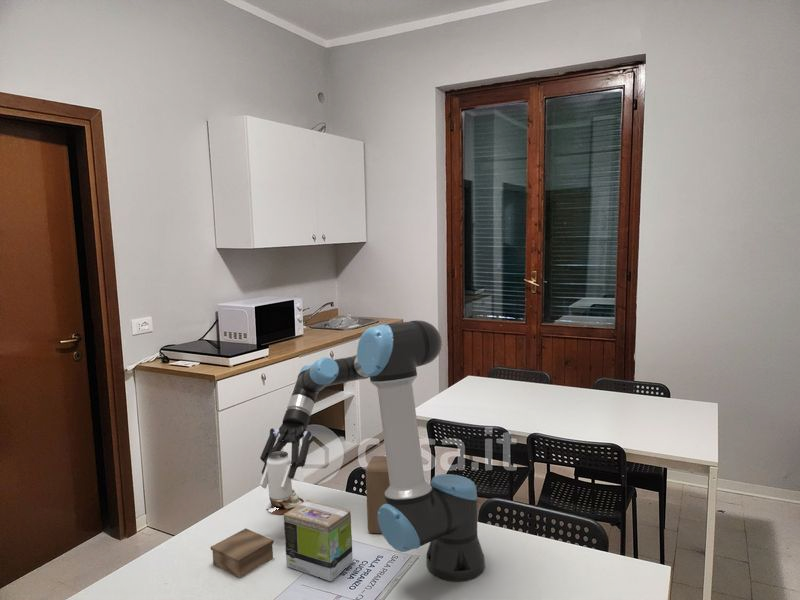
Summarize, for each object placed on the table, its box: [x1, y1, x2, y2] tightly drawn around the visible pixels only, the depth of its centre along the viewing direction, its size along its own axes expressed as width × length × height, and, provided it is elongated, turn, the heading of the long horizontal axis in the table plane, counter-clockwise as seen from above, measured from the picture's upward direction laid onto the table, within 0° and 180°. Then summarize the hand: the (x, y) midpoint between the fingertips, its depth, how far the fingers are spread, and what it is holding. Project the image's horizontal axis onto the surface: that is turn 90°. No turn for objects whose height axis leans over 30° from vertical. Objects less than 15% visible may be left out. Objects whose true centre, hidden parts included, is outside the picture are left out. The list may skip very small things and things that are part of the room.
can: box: [267, 450, 293, 500], centre depth 162 cm, size 6×6×12 cm
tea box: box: [283, 499, 353, 582], centre depth 149 cm, size 15×10×15 cm
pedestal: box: [210, 528, 275, 579], centre depth 152 cm, size 12×12×5 cm
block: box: [365, 455, 390, 534], centre depth 168 cm, size 10×10×20 cm
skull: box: [268, 488, 305, 515], centre depth 183 cm, size 12×10×10 cm
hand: (273, 487), depth 158 cm, fingers closed on can, 6 cm apart
